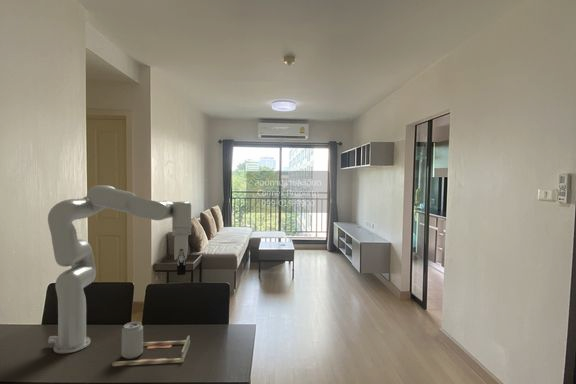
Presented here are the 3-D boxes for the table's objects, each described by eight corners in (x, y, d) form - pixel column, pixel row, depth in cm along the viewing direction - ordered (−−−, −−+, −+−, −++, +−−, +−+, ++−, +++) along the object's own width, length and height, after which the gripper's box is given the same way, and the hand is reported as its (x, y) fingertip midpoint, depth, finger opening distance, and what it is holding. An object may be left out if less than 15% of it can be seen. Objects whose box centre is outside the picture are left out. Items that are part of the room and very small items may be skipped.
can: (146, 350, 130) (146, 320, 129) (136, 360, 122) (136, 329, 122) (129, 349, 130) (129, 319, 130) (117, 359, 123) (117, 328, 123)
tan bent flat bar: (112, 366, 118) (112, 356, 118) (127, 345, 133) (127, 337, 133) (183, 362, 121) (183, 353, 121) (190, 343, 136) (190, 334, 136)
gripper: (173, 228, 143) (172, 267, 143) (171, 234, 126) (171, 278, 127) (190, 228, 145) (190, 266, 146) (191, 233, 129) (191, 276, 129)
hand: (181, 271), depth 136 cm, fingers open, 9 cm apart
